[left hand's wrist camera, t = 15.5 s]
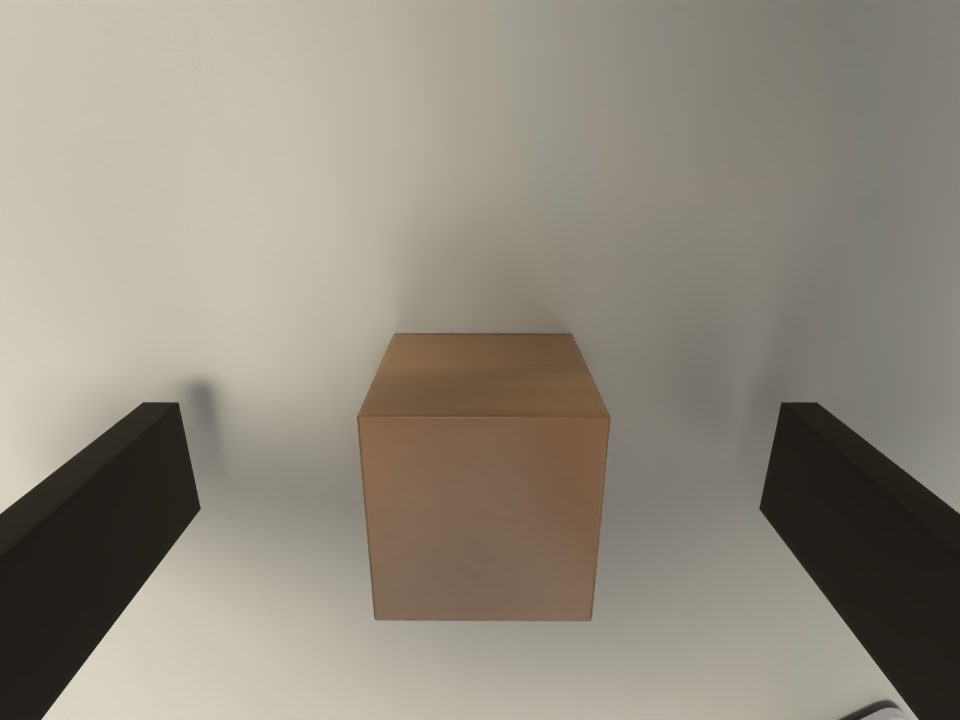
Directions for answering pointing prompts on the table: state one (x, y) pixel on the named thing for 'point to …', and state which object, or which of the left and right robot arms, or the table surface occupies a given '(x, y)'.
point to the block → (483, 478)
